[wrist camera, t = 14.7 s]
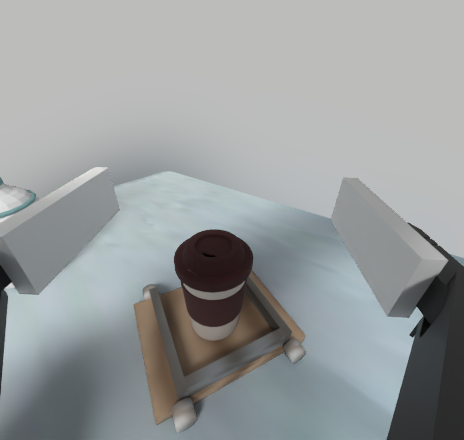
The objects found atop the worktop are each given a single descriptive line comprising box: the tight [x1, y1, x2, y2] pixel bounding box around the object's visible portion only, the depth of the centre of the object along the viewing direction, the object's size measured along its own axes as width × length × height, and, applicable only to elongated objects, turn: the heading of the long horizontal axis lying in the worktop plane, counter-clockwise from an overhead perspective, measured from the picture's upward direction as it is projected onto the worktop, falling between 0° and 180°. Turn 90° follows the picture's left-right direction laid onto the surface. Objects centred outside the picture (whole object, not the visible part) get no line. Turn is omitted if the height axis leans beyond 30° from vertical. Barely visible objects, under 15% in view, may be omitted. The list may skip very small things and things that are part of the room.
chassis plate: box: [134, 270, 306, 432], centre depth 36 cm, size 22×21×4 cm
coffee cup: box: [174, 230, 253, 341], centre depth 32 cm, size 10×10×15 cm
